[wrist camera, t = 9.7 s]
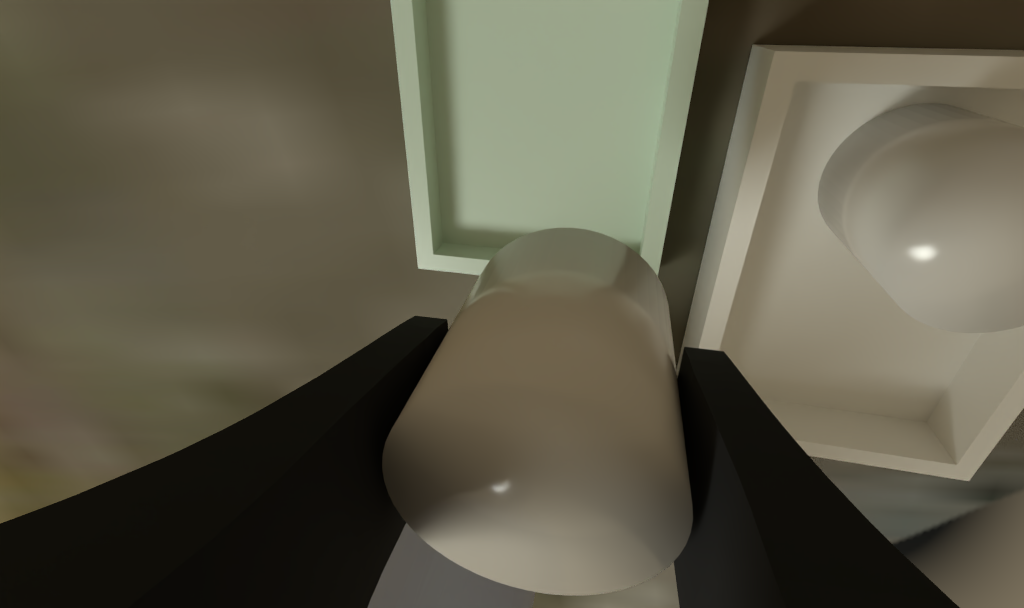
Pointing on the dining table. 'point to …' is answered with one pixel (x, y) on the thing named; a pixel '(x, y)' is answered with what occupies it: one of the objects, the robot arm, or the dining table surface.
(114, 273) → the dining table surface
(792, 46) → the bin
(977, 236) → the pebble
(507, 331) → the pebble
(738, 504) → the robot arm
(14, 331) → the dining table surface
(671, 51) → the tray
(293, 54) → the dining table surface
